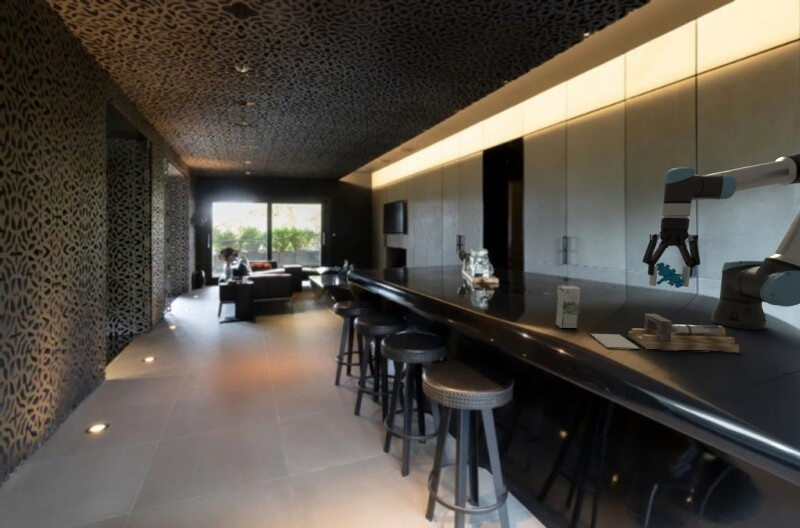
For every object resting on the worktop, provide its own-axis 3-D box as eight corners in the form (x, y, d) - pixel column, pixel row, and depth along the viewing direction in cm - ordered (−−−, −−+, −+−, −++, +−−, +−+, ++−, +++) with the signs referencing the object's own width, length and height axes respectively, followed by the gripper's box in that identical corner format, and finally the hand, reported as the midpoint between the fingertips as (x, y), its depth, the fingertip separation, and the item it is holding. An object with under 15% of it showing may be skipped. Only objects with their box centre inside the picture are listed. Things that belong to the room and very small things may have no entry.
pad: (619, 336, 129) (619, 334, 129) (639, 349, 116) (639, 347, 116) (590, 335, 130) (590, 333, 130) (606, 348, 117) (607, 346, 117)
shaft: (717, 335, 122) (718, 324, 121) (725, 339, 118) (726, 327, 118) (665, 334, 123) (666, 323, 123) (672, 337, 120) (673, 326, 119)
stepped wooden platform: (710, 339, 126) (713, 314, 125) (738, 352, 114) (741, 324, 113) (627, 337, 128) (629, 312, 127) (647, 349, 116) (649, 322, 115)
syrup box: (571, 324, 143) (573, 284, 141) (578, 329, 137) (580, 287, 135) (555, 324, 143) (557, 284, 141) (561, 329, 137) (563, 287, 135)
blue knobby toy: (670, 284, 126) (653, 259, 132) (655, 294, 130) (639, 270, 136) (693, 287, 130) (676, 263, 136) (678, 297, 134) (661, 273, 140)
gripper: (704, 217, 131) (696, 284, 134) (634, 216, 134) (628, 282, 136) (720, 217, 124) (711, 288, 127) (645, 216, 126) (638, 286, 129)
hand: (668, 285), depth 131 cm, fingers closed on blue knobby toy, 9 cm apart
